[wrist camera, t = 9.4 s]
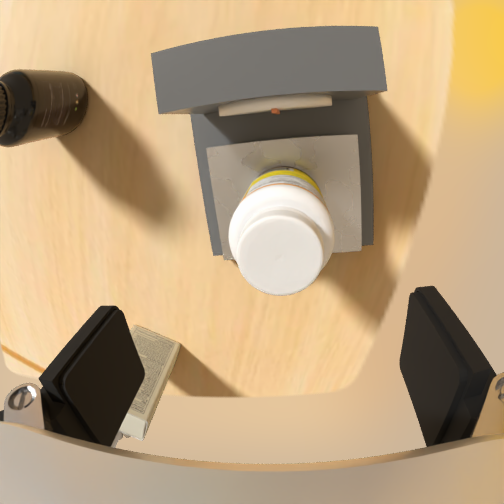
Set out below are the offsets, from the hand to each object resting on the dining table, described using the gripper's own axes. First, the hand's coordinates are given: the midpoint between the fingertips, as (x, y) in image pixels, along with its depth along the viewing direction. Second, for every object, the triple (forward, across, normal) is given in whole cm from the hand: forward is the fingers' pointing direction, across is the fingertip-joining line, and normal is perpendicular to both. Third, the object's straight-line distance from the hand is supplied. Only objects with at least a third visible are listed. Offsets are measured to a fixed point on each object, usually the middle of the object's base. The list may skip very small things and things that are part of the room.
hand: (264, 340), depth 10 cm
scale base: (+20, -1, -4) cm, 20 cm away
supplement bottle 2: (+16, -1, -1) cm, 16 cm away
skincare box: (+21, +16, +16) cm, 31 cm away
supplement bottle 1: (+20, +20, -13) cm, 31 cm away
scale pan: (+17, -1, -1) cm, 18 cm away
